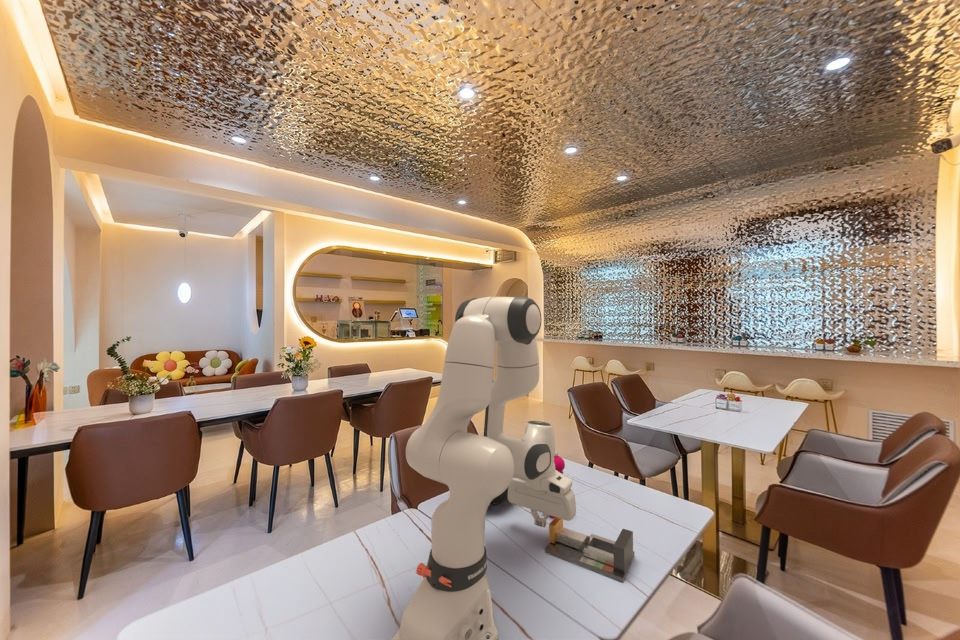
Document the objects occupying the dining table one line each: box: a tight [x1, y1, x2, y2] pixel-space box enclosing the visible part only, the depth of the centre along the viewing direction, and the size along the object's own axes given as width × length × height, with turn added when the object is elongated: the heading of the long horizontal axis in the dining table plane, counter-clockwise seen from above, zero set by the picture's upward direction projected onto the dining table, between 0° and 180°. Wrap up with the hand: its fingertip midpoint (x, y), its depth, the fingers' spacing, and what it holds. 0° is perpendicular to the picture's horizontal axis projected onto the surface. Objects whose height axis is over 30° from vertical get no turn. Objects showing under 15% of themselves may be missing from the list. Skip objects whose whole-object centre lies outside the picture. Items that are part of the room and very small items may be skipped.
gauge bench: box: [544, 528, 635, 583], centre depth 97 cm, size 12×20×7 cm, turn 55°
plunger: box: [548, 517, 593, 552], centre depth 98 cm, size 9×11×5 cm
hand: (540, 525), depth 105 cm, fingers closed
